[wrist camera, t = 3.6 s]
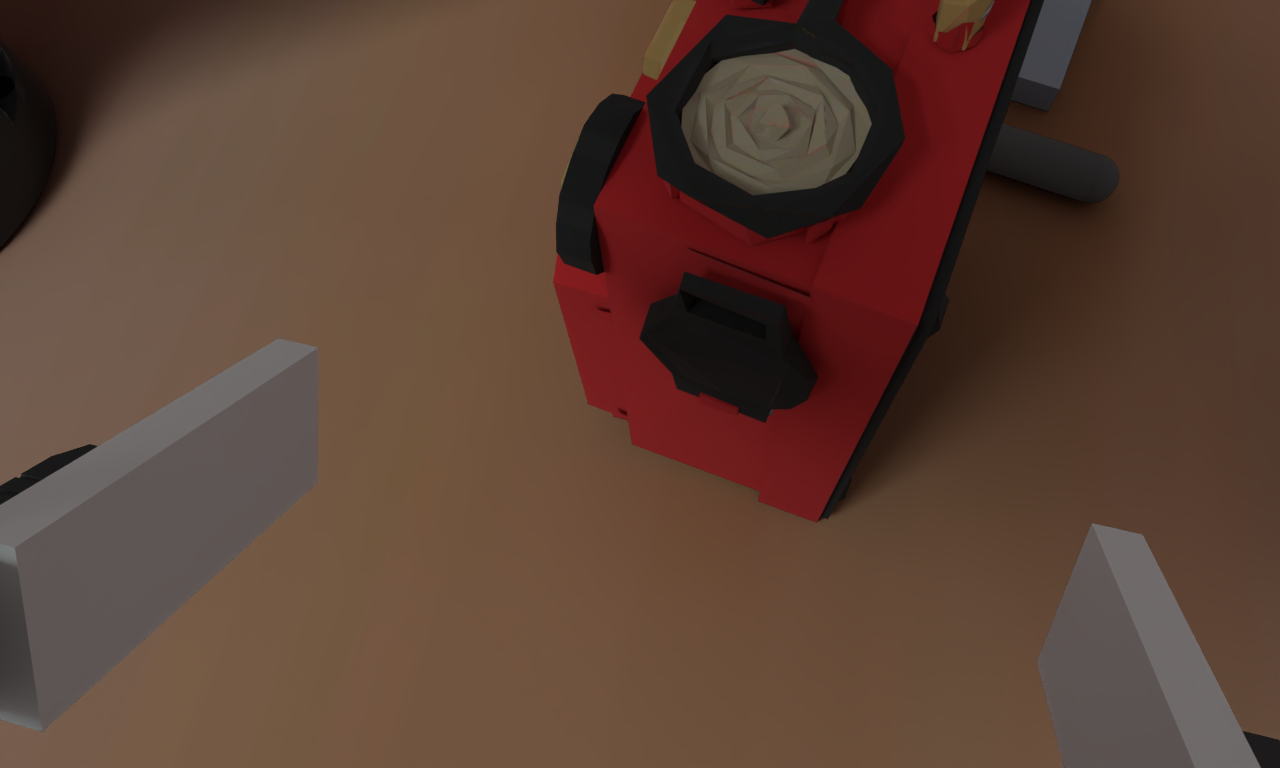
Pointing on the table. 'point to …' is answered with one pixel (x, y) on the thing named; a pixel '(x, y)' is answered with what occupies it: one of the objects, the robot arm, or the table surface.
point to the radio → (779, 225)
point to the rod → (1053, 165)
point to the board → (1050, 52)
